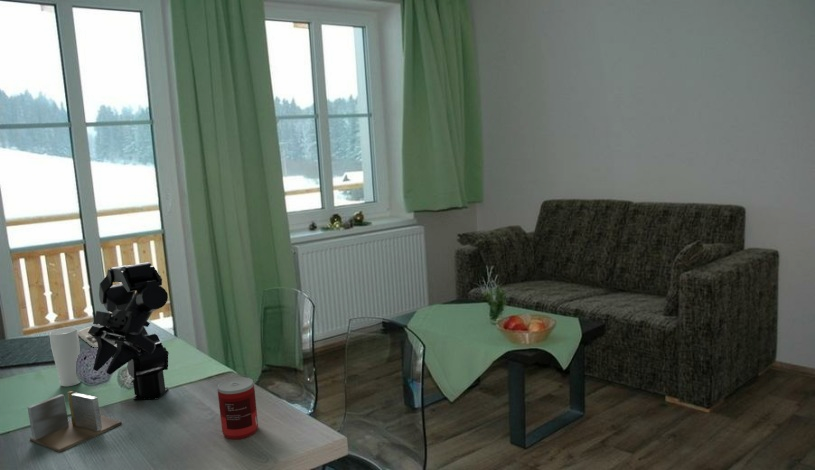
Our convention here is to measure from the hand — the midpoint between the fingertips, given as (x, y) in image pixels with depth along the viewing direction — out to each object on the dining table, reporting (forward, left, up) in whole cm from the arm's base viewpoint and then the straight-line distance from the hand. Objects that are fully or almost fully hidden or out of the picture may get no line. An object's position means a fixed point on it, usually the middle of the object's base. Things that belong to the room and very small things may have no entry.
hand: (101, 371), depth 148 cm
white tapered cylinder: (+23, -25, -12) cm, 36 cm away
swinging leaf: (+2, +5, -11) cm, 12 cm away
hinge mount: (+5, +5, -12) cm, 14 cm away
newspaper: (+31, -61, -13) cm, 69 cm away
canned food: (-34, +7, -12) cm, 37 cm away
